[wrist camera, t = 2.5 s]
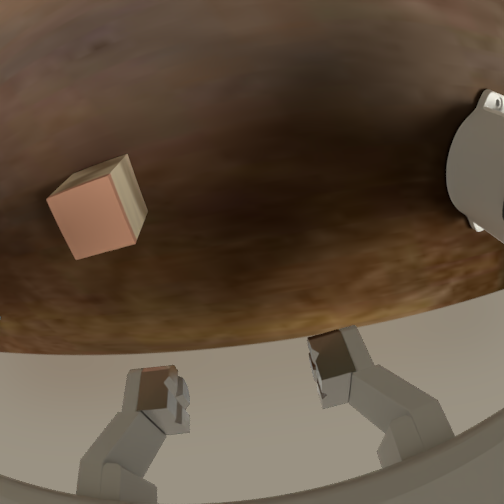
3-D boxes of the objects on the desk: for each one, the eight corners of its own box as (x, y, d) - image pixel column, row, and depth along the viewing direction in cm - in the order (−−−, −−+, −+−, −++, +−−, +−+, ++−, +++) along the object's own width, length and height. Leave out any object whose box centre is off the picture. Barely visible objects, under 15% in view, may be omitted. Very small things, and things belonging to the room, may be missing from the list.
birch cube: (127, 153, 25) (107, 175, 20) (148, 210, 29) (135, 244, 24) (73, 173, 25) (46, 199, 21) (95, 226, 29) (75, 260, 24)
